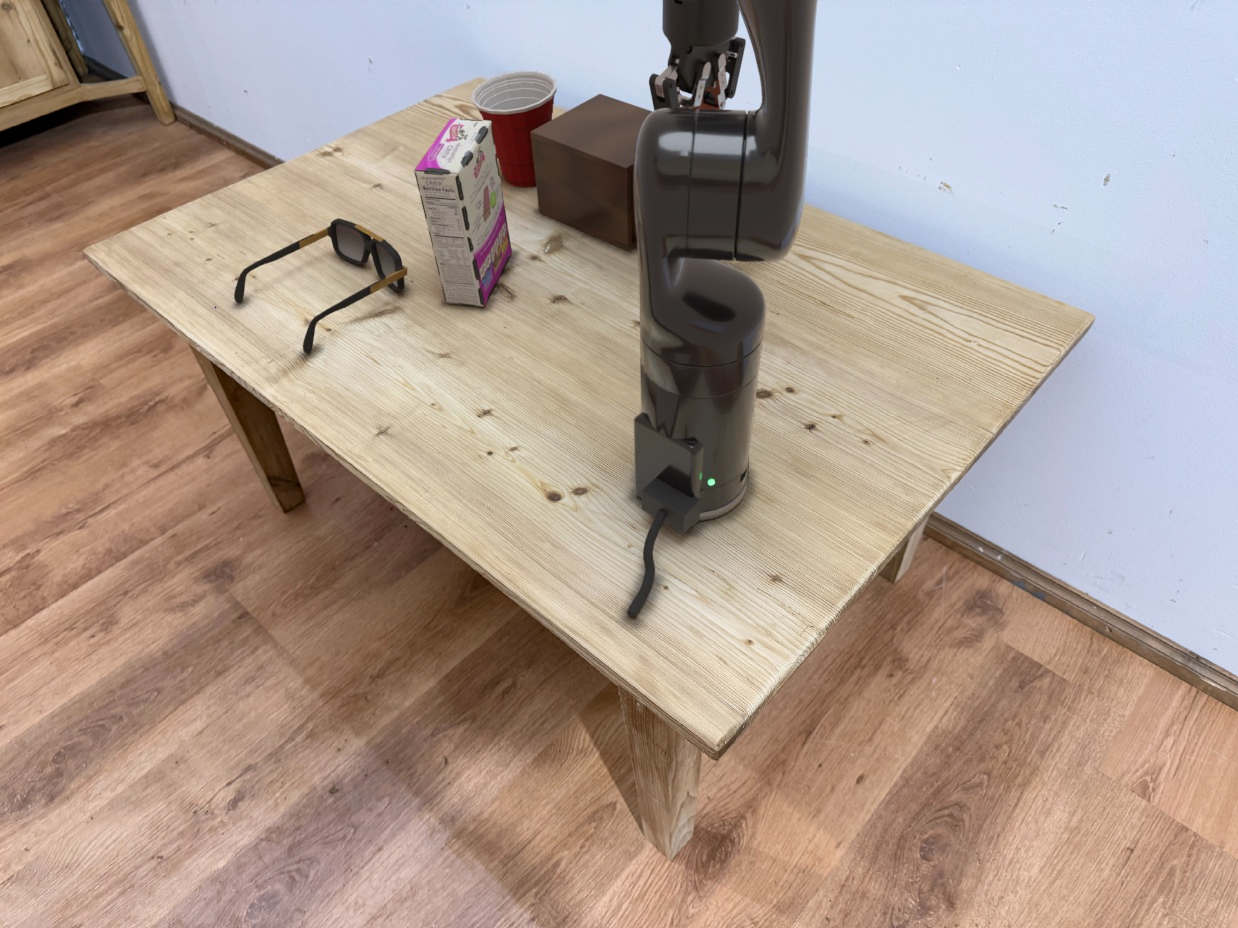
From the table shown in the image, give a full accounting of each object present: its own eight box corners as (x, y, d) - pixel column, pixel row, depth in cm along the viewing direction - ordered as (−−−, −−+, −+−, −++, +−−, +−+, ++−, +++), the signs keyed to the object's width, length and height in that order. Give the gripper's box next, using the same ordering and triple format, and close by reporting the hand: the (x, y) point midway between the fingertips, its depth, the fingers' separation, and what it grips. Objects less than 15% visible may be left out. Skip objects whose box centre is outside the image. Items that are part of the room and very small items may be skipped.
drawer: (785, 240, 100) (795, 170, 93) (730, 285, 94) (736, 214, 88) (664, 193, 108) (665, 126, 101) (606, 232, 102) (603, 163, 96)
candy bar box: (473, 249, 102) (449, 116, 90) (513, 253, 101) (494, 119, 89) (441, 305, 95) (411, 167, 83) (484, 309, 94) (459, 171, 82)
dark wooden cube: (691, 206, 107) (694, 125, 99) (628, 251, 101) (626, 168, 93) (603, 172, 114) (599, 93, 106) (539, 212, 107) (530, 131, 100)
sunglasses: (236, 304, 96) (220, 266, 92) (348, 246, 103) (336, 209, 100) (306, 356, 89) (291, 317, 86) (420, 290, 97) (411, 252, 93)
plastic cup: (477, 165, 116) (462, 76, 107) (553, 151, 118) (545, 63, 109) (492, 204, 109) (478, 112, 100) (574, 189, 111) (567, 98, 102)
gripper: (713, -46, 86) (705, 118, 99) (624, -4, 79) (628, 167, 92) (776, -32, 83) (759, 136, 96) (689, 13, 76) (683, 188, 88)
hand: (695, 150), depth 93 cm, fingers closed on block, 4 cm apart
